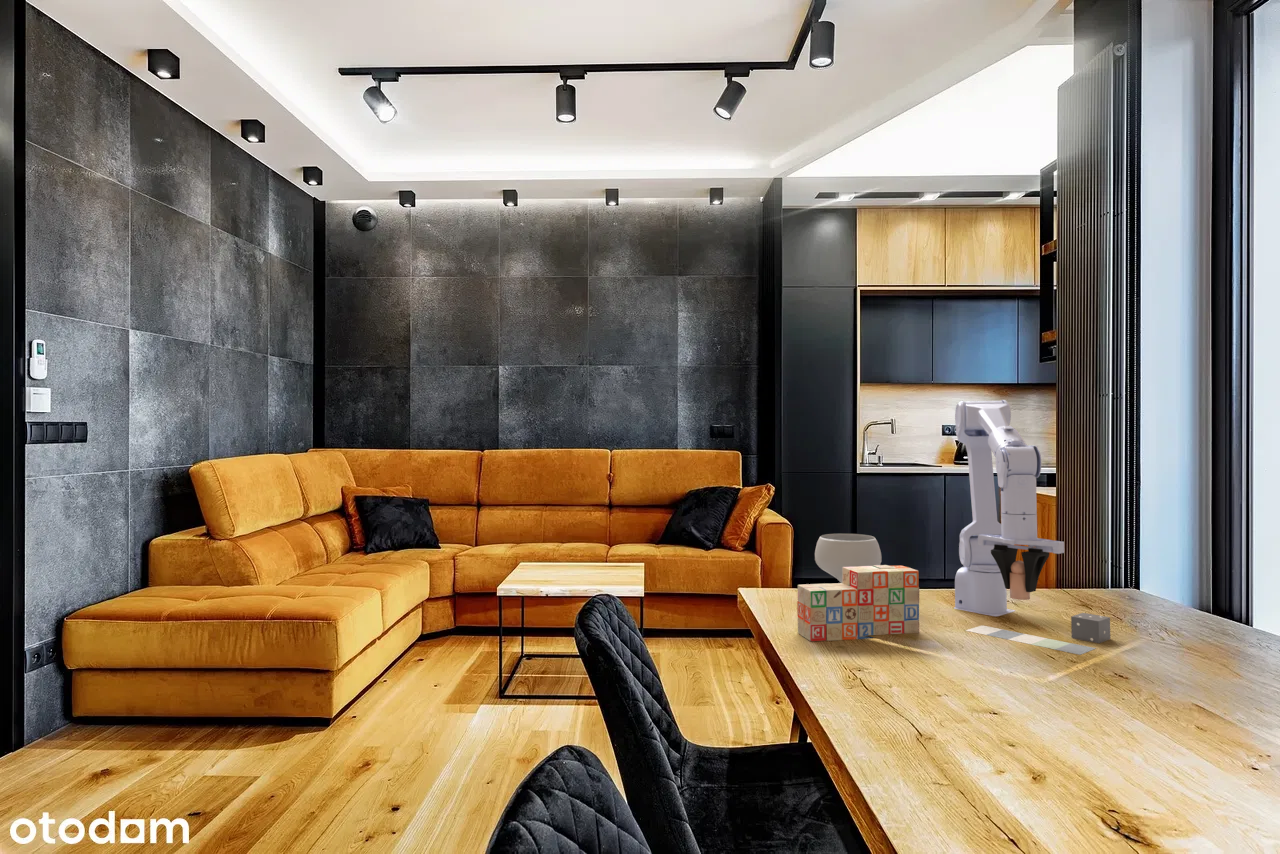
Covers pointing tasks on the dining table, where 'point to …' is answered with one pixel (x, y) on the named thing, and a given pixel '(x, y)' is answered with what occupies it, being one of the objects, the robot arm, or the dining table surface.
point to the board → (1032, 640)
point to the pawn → (1018, 582)
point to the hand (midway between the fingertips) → (1020, 589)
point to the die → (1090, 627)
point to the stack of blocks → (860, 604)
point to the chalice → (846, 552)
